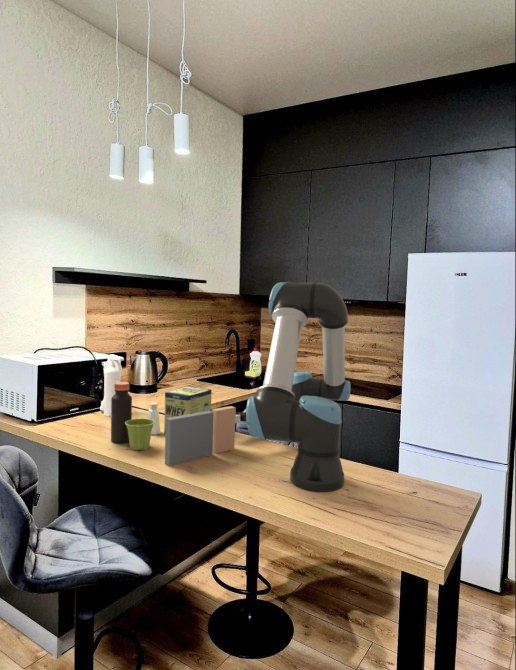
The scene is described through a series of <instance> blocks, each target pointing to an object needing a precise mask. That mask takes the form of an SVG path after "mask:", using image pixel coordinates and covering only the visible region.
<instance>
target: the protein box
mask: <svg viewBox="0 0 516 670" xmlns="http://www.w3.org/2000/svg"><path fill="white" fill-rule="evenodd" d="M205 411H211V412H212V389H209V388H203V387H197V386H191V385H190V386H189V385H188V386H184V387H182V388H177V389H174V390H170V391H165V392H164V426H163V427H164V433H163V434H165V430H166V418H170V417H176V416H181V415H187V414H193V413H199V412H205Z"/></svg>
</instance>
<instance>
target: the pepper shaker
mask: <svg viewBox="0 0 516 670" xmlns="http://www.w3.org/2000/svg"><path fill="white" fill-rule="evenodd" d="M149 405H150V406H149V409H148V412H147V414H148V415H147V419H151V420H153V421H154V424H153V427H152V431H151V436H153V435H154V436H157V435H159V434H161V425H160V423H161V422H160V421H161V420H160V412H159V411H160V410H159V409H158V403H157V402H150V403H149Z"/></svg>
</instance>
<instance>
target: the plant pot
mask: <svg viewBox="0 0 516 670" xmlns="http://www.w3.org/2000/svg"><path fill="white" fill-rule="evenodd" d="M153 424H154V421H153V420H151V419H148V418H135V419H134V418H132V420H128V421H126V422H125V425H126V426H127V429H128V435H129V449H130V450H132V451H133V450H134V451H139V450H141V451H144V450H147V449H149V448H150V443H151V438H152V435H151V431H152V427H153Z"/></svg>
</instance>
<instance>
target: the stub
mask: <svg viewBox="0 0 516 670" xmlns="http://www.w3.org/2000/svg"><path fill="white" fill-rule="evenodd" d="M236 410H237V408H236V407H235V406H232V405H230V406H229V405H228V406H224V407H218V408H211V412H214V438H213V454H220V453H224V452H228V451H230V450H235V441H236V423H235V415H236V413H237V411H236Z"/></svg>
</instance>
